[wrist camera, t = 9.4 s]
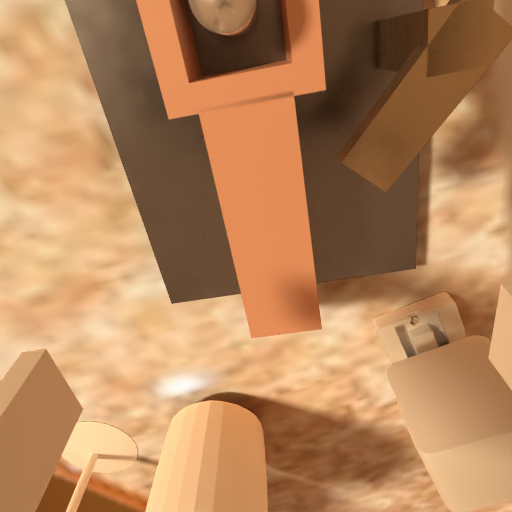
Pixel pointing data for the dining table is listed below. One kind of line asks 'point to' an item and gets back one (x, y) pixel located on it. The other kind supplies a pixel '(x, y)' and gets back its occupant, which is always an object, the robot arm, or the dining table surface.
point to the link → (252, 155)
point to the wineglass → (97, 453)
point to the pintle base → (308, 120)
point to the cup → (211, 462)
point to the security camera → (451, 402)
